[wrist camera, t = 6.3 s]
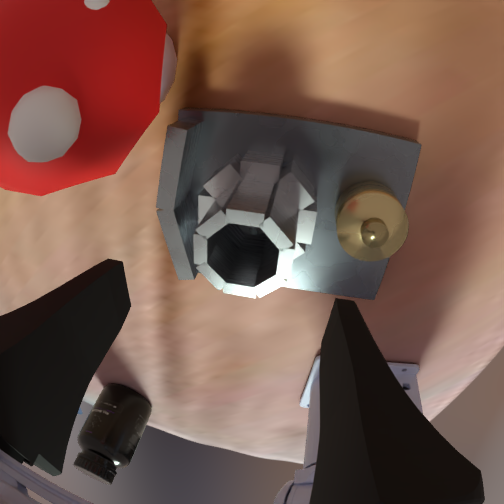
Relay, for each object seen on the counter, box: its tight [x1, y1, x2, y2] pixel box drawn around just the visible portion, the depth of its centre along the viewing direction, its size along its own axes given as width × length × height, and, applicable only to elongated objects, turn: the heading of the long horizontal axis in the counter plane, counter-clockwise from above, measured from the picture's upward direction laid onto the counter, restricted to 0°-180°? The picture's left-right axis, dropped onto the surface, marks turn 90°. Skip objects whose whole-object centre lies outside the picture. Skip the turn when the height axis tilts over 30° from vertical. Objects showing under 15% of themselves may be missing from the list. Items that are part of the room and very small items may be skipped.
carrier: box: [156, 107, 421, 300], centre depth 17 cm, size 13×10×4 cm
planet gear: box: [193, 150, 317, 298], centre depth 16 cm, size 6×6×6 cm
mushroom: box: [0, 0, 177, 196], centre depth 11 cm, size 11×11×12 cm
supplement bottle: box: [74, 384, 151, 485], centre depth 31 cm, size 7×7×12 cm
